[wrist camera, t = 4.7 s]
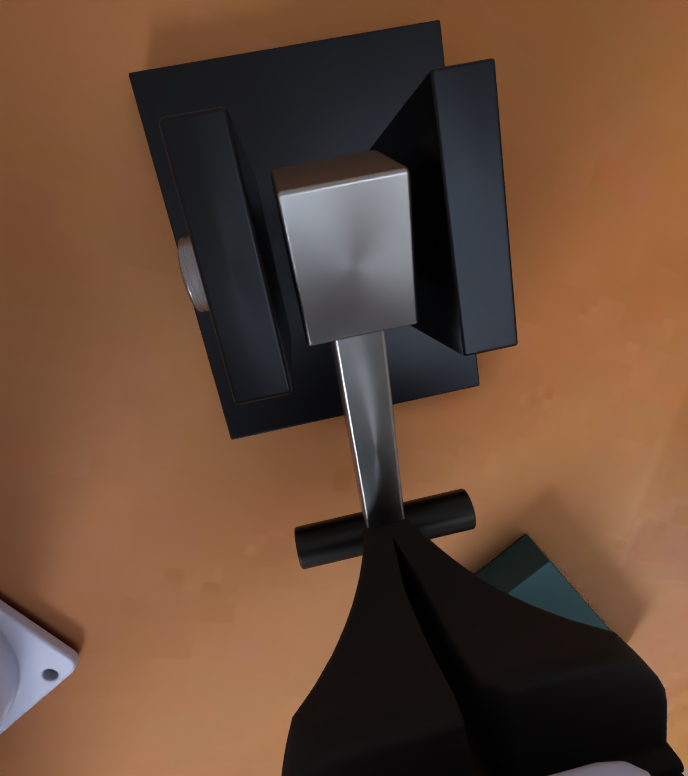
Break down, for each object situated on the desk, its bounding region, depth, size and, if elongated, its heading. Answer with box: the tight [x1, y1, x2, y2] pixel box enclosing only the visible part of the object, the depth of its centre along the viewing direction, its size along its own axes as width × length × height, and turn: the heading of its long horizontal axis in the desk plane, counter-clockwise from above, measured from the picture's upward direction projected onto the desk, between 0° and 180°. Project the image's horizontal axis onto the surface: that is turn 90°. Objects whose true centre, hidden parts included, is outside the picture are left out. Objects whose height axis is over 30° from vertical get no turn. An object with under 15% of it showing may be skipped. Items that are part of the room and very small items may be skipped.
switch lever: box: [270, 150, 476, 569], centre depth 11 cm, size 10×5×2 cm, turn 10°
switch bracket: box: [129, 20, 518, 440], centre depth 11 cm, size 10×8×7 cm
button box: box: [475, 534, 611, 631], centre depth 18 cm, size 10×8×4 cm
